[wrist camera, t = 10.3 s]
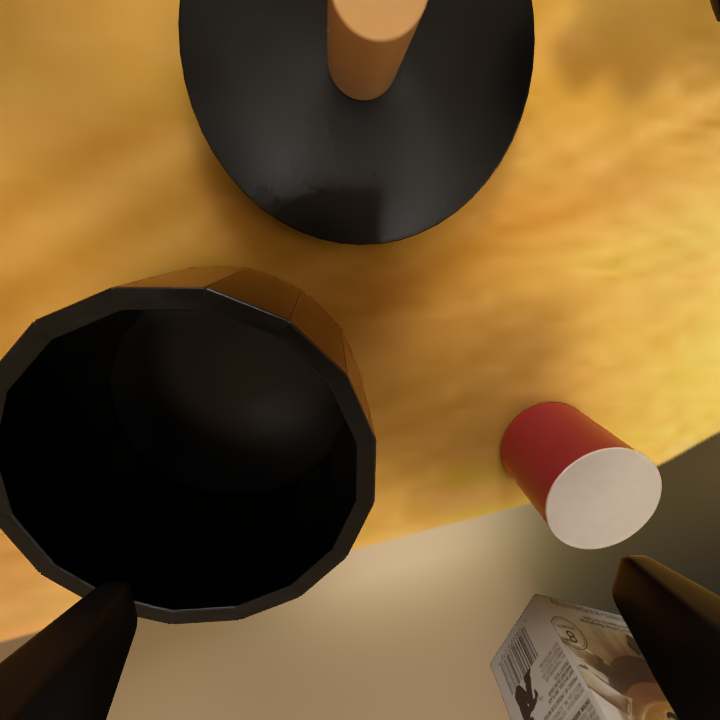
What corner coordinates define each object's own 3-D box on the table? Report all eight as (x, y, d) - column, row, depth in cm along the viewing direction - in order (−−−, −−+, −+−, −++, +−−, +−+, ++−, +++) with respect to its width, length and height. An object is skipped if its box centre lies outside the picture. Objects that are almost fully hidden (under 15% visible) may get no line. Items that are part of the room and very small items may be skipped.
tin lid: (167, -167, 12) (42, -479, 7) (543, -133, 13) (692, -382, 8) (208, 242, 16) (148, 247, 10) (499, 245, 17) (580, 251, 11)
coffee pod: (505, 401, 19) (557, 450, 15) (598, 399, 19) (674, 446, 15) (493, 485, 20) (538, 552, 16) (580, 481, 21) (646, 546, 17)
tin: (77, 265, 16) (-85, 286, 9) (360, 267, 17) (381, 287, 10) (125, 504, 19) (28, 634, 13) (357, 495, 20) (371, 612, 14)
